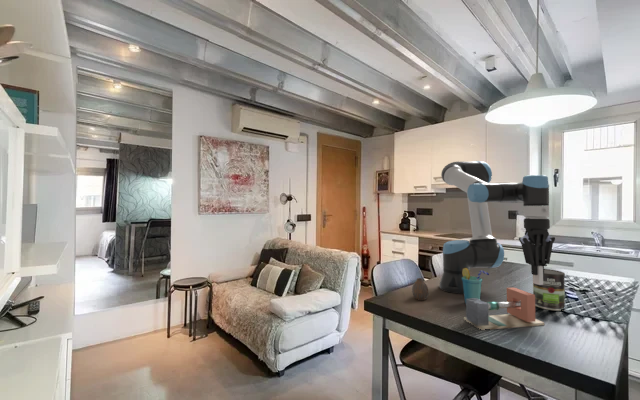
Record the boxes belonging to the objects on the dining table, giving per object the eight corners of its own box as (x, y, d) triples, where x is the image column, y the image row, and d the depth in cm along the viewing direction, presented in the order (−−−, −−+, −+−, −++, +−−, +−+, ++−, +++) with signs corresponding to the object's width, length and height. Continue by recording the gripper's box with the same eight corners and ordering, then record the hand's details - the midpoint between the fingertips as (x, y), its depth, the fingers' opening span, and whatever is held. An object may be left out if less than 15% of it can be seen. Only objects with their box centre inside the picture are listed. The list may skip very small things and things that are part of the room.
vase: (430, 297, 131) (429, 278, 131) (426, 302, 125) (426, 281, 125) (414, 295, 135) (414, 276, 135) (410, 299, 129) (409, 279, 129)
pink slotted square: (527, 321, 100) (527, 295, 100) (507, 312, 109) (506, 287, 109) (535, 321, 101) (535, 294, 101) (514, 311, 109) (513, 287, 110)
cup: (496, 308, 117) (495, 270, 117) (482, 311, 114) (481, 272, 114) (467, 298, 130) (466, 264, 130) (453, 300, 127) (453, 265, 127)
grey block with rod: (477, 328, 99) (477, 304, 99) (466, 321, 105) (466, 298, 105) (540, 323, 103) (540, 300, 103) (526, 316, 108) (525, 294, 109)
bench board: (480, 330, 97) (480, 327, 97) (463, 319, 106) (463, 317, 106) (544, 325, 101) (544, 322, 101) (522, 315, 110) (522, 312, 110)
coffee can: (568, 312, 112) (567, 275, 112) (535, 308, 117) (534, 272, 117) (561, 304, 121) (561, 269, 121) (531, 300, 126) (530, 267, 126)
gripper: (529, 218, 101) (531, 287, 101) (562, 218, 103) (563, 285, 103) (511, 217, 109) (513, 282, 108) (542, 217, 111) (544, 280, 110)
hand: (538, 283), depth 106 cm, fingers closed
